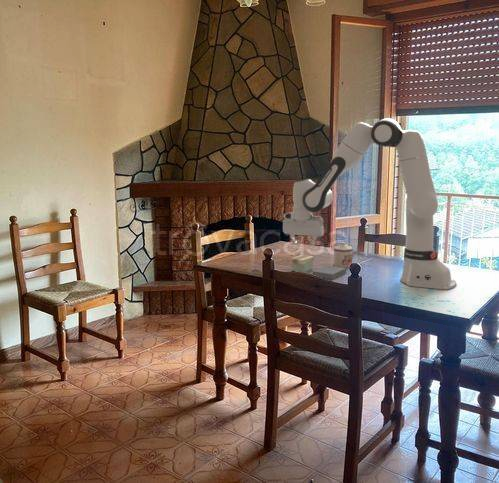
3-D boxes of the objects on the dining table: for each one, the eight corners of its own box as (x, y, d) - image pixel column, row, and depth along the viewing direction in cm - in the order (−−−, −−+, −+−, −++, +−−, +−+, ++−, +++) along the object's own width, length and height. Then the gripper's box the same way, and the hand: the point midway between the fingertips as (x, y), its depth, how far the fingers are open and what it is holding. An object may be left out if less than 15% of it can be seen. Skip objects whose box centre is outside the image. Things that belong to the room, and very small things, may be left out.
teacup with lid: (343, 269, 244) (344, 245, 242) (329, 266, 251) (329, 242, 249) (360, 265, 252) (361, 241, 249) (345, 262, 259) (346, 239, 256)
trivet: (346, 273, 237) (346, 268, 237) (332, 279, 227) (332, 274, 226) (326, 270, 243) (326, 265, 242) (312, 276, 233) (312, 271, 232)
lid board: (313, 260, 244) (313, 256, 243) (302, 264, 236) (302, 260, 236) (301, 258, 248) (301, 254, 247) (290, 262, 240) (290, 258, 239)
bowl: (312, 270, 243) (312, 261, 243) (304, 273, 238) (304, 264, 237) (299, 268, 248) (299, 259, 247) (291, 271, 242) (291, 262, 241)
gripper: (326, 215, 234) (326, 245, 237) (287, 212, 246) (288, 241, 249) (319, 217, 229) (319, 247, 232) (280, 214, 241) (281, 243, 244)
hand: (303, 244), depth 240 cm, fingers open, 8 cm apart
